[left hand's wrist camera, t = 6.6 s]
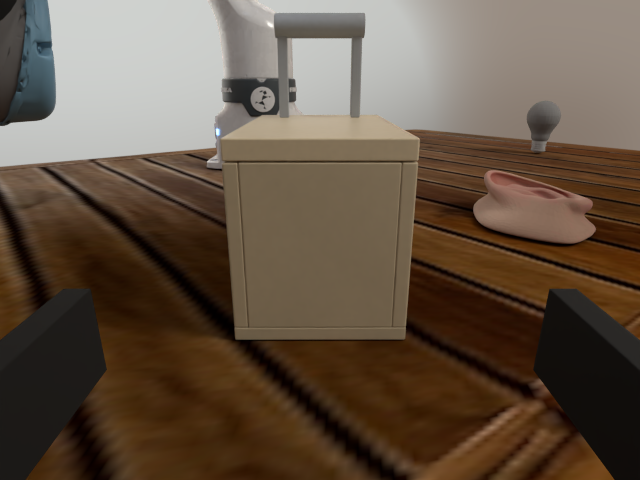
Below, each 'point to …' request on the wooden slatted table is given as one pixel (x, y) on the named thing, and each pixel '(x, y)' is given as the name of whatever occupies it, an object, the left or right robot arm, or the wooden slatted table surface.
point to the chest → (320, 248)
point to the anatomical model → (533, 210)
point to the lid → (319, 130)
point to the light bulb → (542, 123)
